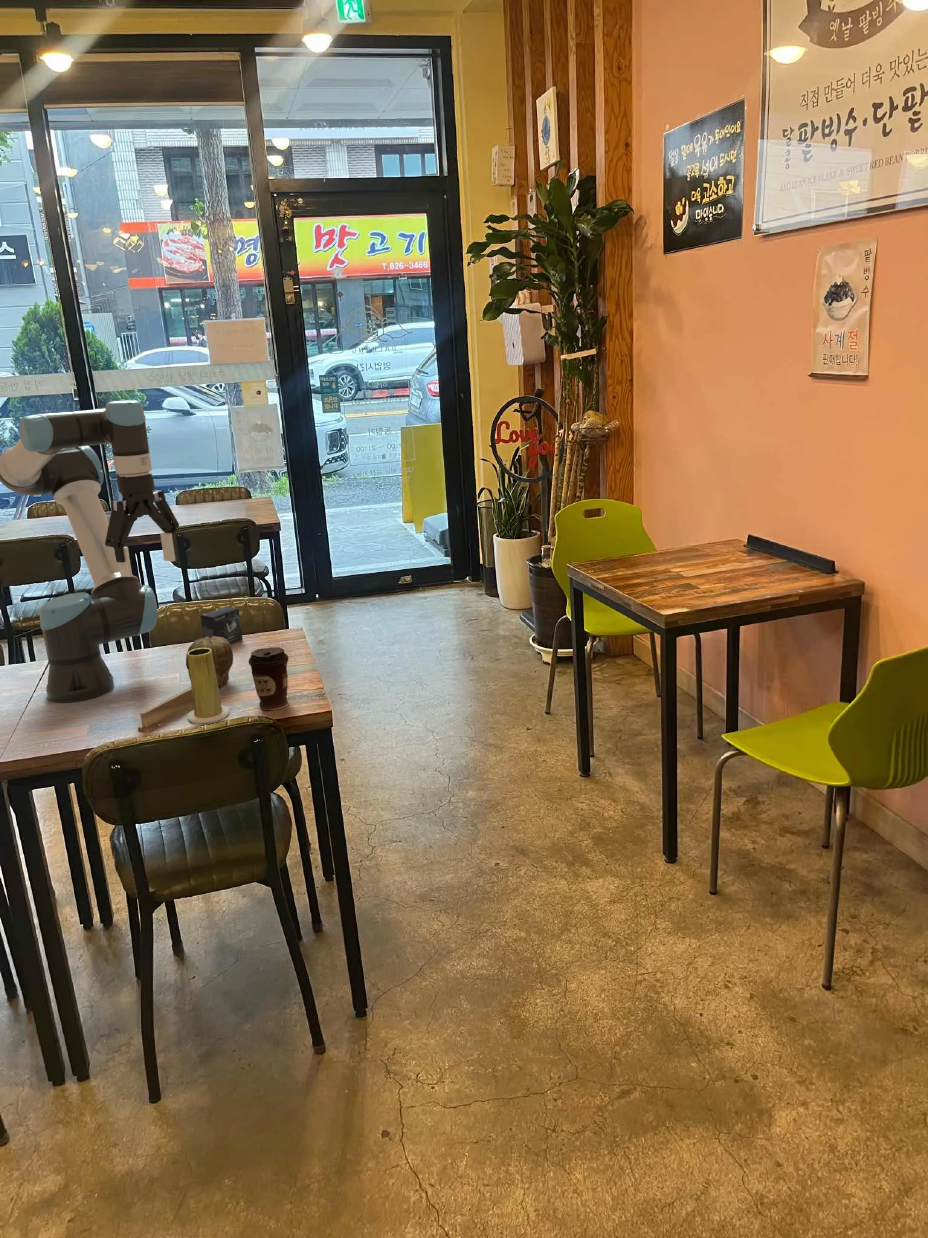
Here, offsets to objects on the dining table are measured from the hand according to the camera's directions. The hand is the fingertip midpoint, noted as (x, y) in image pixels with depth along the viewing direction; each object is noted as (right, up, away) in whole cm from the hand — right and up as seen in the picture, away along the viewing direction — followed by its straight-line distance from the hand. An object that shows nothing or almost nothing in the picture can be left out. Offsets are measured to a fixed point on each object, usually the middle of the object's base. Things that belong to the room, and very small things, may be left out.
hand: (148, 568), depth 201 cm
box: (+4, -19, +47) cm, 50 cm away
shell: (+10, -28, +16) cm, 33 cm away
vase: (+14, -32, -3) cm, 36 cm away
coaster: (+14, -33, -3) cm, 36 cm away
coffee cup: (+28, -31, 0) cm, 42 cm away
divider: (+6, -33, -2) cm, 33 cm away
